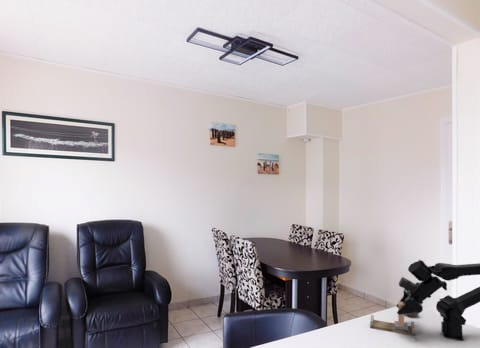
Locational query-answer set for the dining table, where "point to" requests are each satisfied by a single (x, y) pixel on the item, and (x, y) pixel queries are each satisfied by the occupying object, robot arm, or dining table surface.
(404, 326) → the fader
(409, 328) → the fader track
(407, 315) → the vase
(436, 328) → the dining table surface
